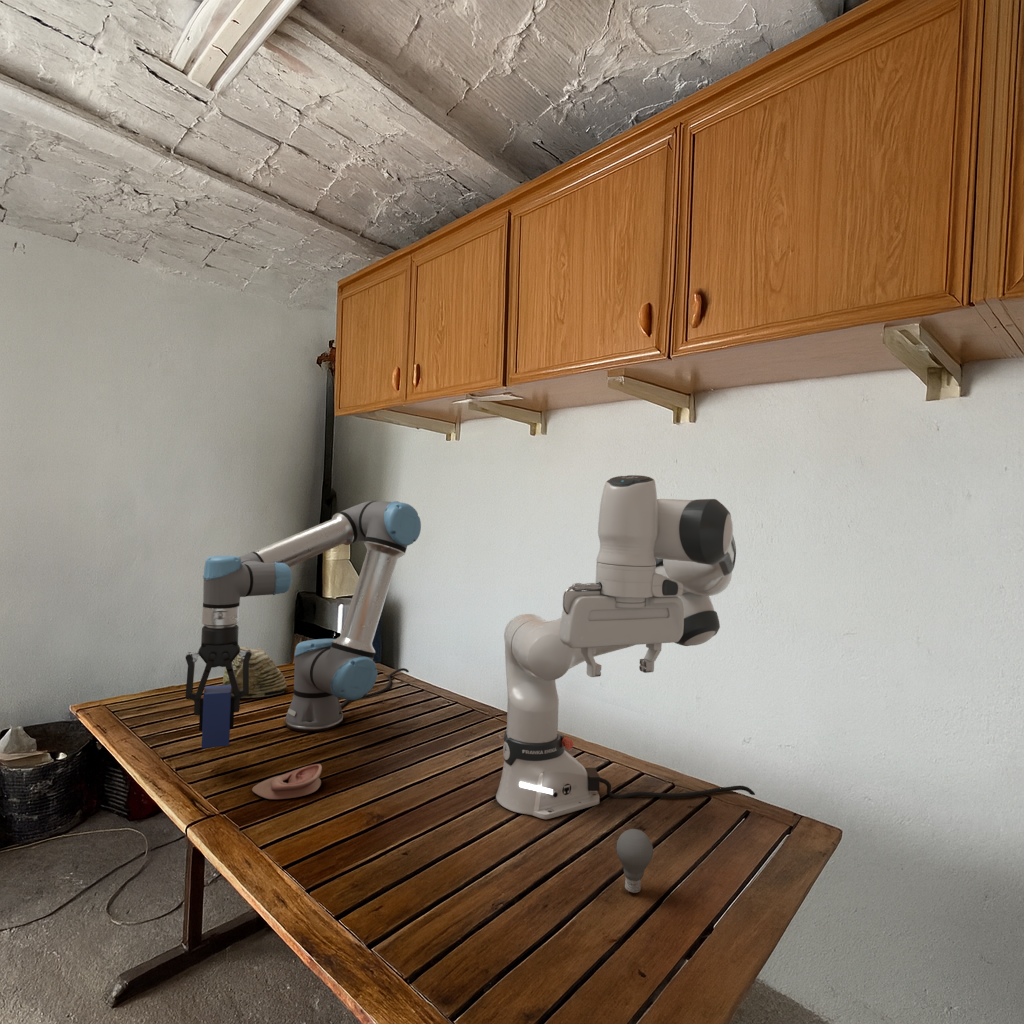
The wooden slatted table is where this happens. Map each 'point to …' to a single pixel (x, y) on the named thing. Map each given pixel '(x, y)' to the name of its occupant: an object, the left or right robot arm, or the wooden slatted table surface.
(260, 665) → the fossil
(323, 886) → the wooden slatted table surface
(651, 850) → the light bulb
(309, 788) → the anatomical model
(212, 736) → the block
